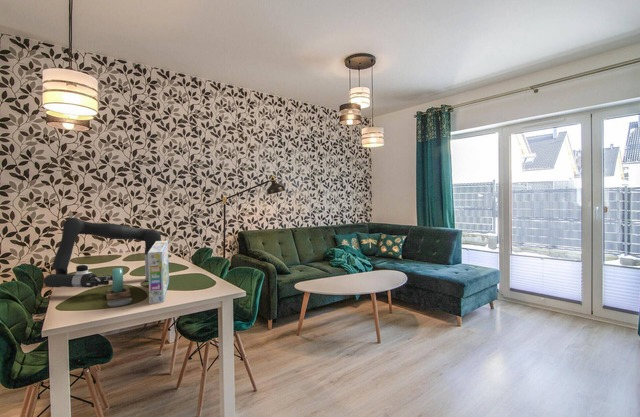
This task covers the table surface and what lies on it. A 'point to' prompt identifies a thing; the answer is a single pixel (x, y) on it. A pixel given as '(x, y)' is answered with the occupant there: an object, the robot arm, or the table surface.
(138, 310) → the table surface
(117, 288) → the tall teal cylinder
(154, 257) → the game box
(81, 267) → the medicine bottle
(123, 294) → the pocket block
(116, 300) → the coaster
